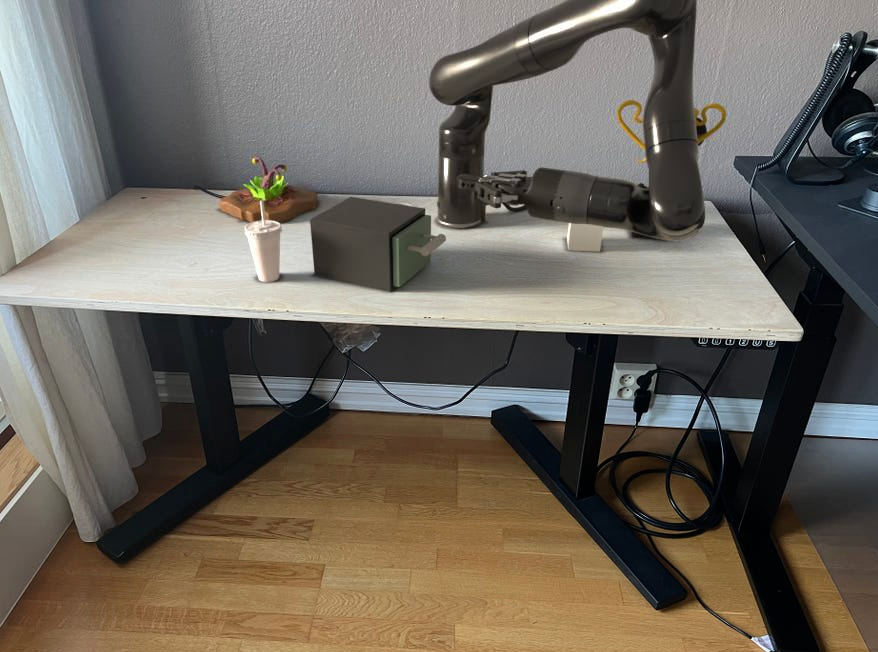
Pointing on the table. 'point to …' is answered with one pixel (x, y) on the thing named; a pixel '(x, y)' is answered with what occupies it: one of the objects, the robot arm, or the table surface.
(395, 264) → the drawer
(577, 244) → the off-white cube
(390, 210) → the cabinet
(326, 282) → the table surface
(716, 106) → the trophy
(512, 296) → the table surface
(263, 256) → the smoothie
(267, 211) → the plant
